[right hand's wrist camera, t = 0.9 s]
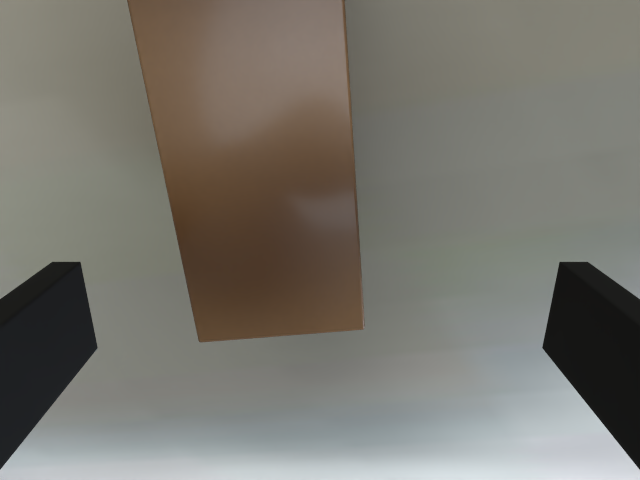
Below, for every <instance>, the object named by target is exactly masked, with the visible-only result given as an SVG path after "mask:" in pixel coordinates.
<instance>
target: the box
mask: <svg viewBox="0 0 640 480" xmlns="http://www.w3.org/2000/svg"><path fill="white" fill-rule="evenodd" d="M127 2H128V6H129V11H130V16H131V21H132V25H133V30H134V35H135V40H136V45H137V49H138V54H139V59H140V64H141V68H142V73H143V78H144V83H145V87H146V92H147V97H148V102H149V106H150V111H151V116H152V121H153V126H154V130H155V135H156V140H157V145H158V149H159V154H160V159H161V164H162V168H163V173H164V178H165V183H166V187H167V192H168V197H169V202H170V207H171V211H172V216H173V221H174V226H175V230H176V235H177V240H178V245H179V249H180V254H181V259H182V264H183V268H184V273H185V278H186V283H187V288H188V292H189V297H190V302H191V307H192V311H193V316H194V321H195V326H196V330H197V335H198V340H199V342H212V341H224V340H237V339H250V338H262V337H275V336H288V335H300V334H313V333H325V332H338V331H351V330H363V329H364V328H365V322H364V306H363V290H362V274H361V258H360V241H359V225H358V209H357V193H356V177H355V160H354V144H353V128H352V112H351V96H350V79H349V63H348V47H347V31H346V15H345V0H127Z"/></svg>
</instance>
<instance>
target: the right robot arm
mask: <svg viewBox="0 0 640 480" xmlns="http://www.w3.org/2000/svg"><path fill="white" fill-rule="evenodd" d="M96 349H97V343H96V338H95V333H94V328H93V323H92V318H91V313H90V308H89V303H88V298H87V293H86V288H85V283H84V278H83V273H82V268H81V263H80V262H52V263H50V264H49V265H47V266H46V267H45V268H43V269H42V270H40V271H39V272H38V273H36V274H35V275H33V276H32V277H31V278H29V279H28V280H27V281H25V282H24V283H22V284H21V285H20V286H18V287H17V288H15V289H14V290H13V291H11V292H10V293H8V294H7V295H6V296H4V297H3V298H1V299H0V469H1V468H2V467H3V465H4V464H5V463H6V462H7V460H8V459H9V458H10V457H11V455H12V454H13V453H14V452H15V450H16V449H17V448H18V447H19V445H20V444H21V443H22V442H23V440H24V439H25V438H26V437H27V435H28V434H29V433H30V432H31V430H32V429H33V428H34V427H35V425H36V424H37V423H38V422H39V420H40V419H41V418H42V417H43V415H44V414H45V413H46V412H47V410H48V409H49V408H50V407H51V405H52V404H53V403H54V402H55V401H56V399H57V398H58V397H59V396H60V394H61V393H62V392H63V391H64V389H65V388H66V387H67V386H68V384H69V383H70V382H71V381H72V379H73V378H74V377H75V376H76V374H77V373H78V372H79V371H80V369H81V368H82V367H83V366H84V364H85V363H86V362H87V361H88V359H89V358H90V357H91V356H92V354H93V353H94V352H95V351H96ZM543 349H544V351H545V352H546V353H547V354H548V356H549V357H550V358H551V359H552V361H553V362H554V363H555V364H556V366H557V367H558V368H559V369H560V371H561V372H562V373H563V374H564V376H565V377H566V378H567V379H568V381H569V382H570V383H571V384H572V386H573V387H574V388H575V389H576V391H577V392H578V393H579V394H580V396H581V397H582V398H583V399H584V401H585V402H586V403H587V404H588V405H589V407H590V408H591V409H592V410H593V412H594V413H595V414H596V415H597V417H598V418H599V419H600V420H601V422H602V423H603V424H604V425H605V427H606V428H607V429H608V430H609V432H610V433H611V434H612V435H613V437H614V438H615V439H616V440H617V442H618V443H619V444H620V445H621V447H622V448H623V449H624V450H625V452H626V453H627V454H628V455H629V457H630V458H631V459H632V460H633V462H634V463H635V464H636V465H637V467H638V468H639V469H640V299H639V298H637V297H636V296H634V295H633V294H632V293H630V292H629V291H627V290H626V289H625V288H623V287H622V286H620V285H619V284H618V283H616V282H615V281H613V280H612V279H611V278H609V277H608V276H607V275H605V274H604V273H602V272H601V271H600V270H598V269H597V268H595V267H594V266H593V265H591V264H590V263H588V262H560V263H559V268H558V273H557V278H556V283H555V288H554V293H553V298H552V303H551V308H550V313H549V318H548V323H547V328H546V333H545V338H544V343H543Z"/></svg>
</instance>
